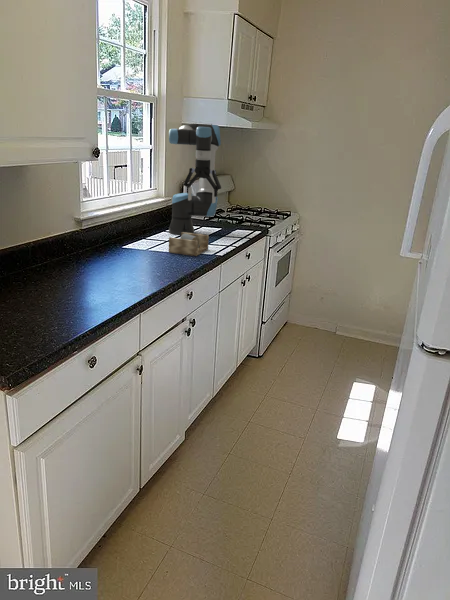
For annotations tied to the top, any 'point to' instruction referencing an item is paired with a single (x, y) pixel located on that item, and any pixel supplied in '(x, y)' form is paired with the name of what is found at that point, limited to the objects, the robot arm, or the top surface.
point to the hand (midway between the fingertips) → (201, 201)
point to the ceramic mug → (190, 238)
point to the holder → (189, 245)
